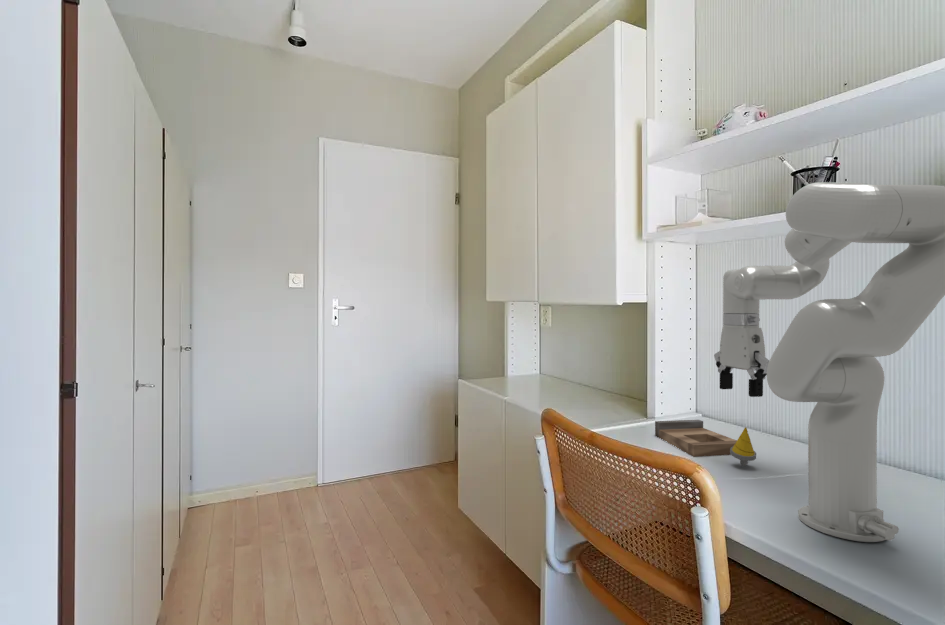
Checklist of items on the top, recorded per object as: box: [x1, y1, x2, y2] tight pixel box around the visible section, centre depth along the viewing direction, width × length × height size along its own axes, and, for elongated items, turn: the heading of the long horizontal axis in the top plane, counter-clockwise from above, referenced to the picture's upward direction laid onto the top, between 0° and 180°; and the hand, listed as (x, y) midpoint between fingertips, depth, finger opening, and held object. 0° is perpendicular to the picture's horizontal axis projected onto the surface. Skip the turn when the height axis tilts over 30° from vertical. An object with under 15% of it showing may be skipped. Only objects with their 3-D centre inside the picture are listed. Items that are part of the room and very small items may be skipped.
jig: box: [654, 419, 738, 458], centre depth 127 cm, size 18×14×5 cm
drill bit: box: [730, 427, 757, 467], centre depth 109 cm, size 5×5×10 cm
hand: (740, 392), depth 111 cm, fingers open, 9 cm apart
